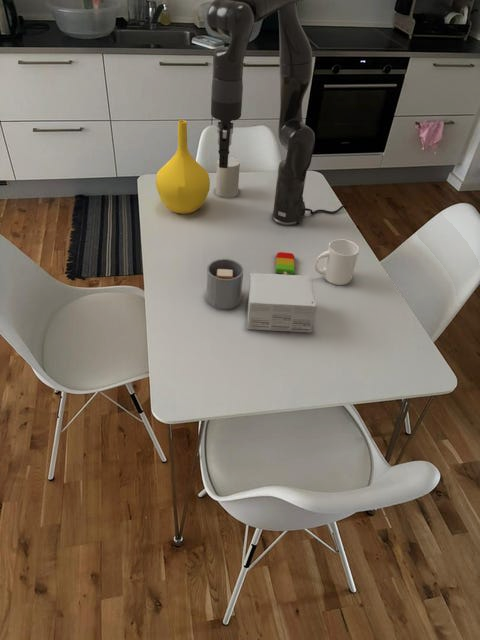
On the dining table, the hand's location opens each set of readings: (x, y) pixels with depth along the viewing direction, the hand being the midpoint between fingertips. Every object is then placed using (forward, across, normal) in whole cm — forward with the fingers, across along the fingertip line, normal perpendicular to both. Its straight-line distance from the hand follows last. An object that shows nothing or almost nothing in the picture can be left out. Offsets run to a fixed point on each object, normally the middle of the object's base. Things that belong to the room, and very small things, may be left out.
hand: (223, 160), depth 133 cm
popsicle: (+32, -3, -20) cm, 38 cm away
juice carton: (+32, -18, -2) cm, 36 cm away
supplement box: (+32, -24, -17) cm, 44 cm away
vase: (+32, +32, +14) cm, 48 cm away
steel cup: (+32, -18, -2) cm, 37 cm away
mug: (+32, -5, -34) cm, 47 cm away
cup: (+32, +45, -1) cm, 55 cm away
